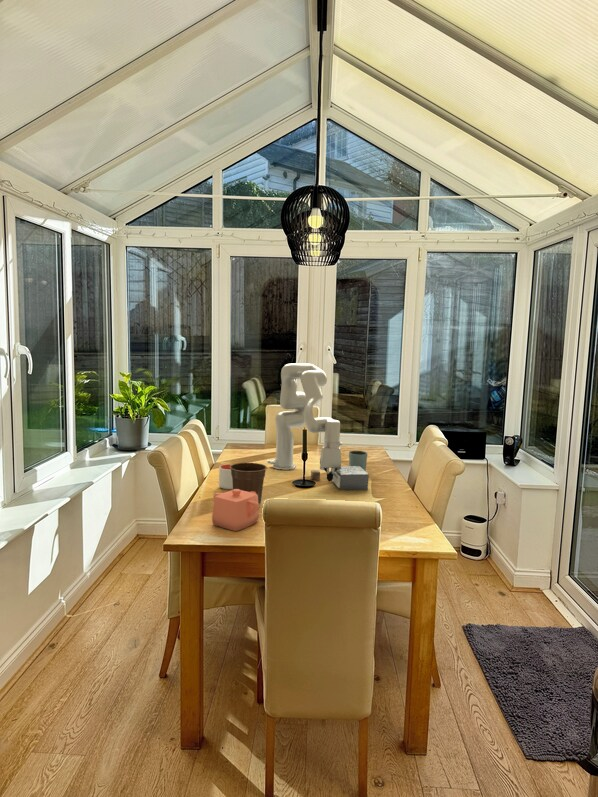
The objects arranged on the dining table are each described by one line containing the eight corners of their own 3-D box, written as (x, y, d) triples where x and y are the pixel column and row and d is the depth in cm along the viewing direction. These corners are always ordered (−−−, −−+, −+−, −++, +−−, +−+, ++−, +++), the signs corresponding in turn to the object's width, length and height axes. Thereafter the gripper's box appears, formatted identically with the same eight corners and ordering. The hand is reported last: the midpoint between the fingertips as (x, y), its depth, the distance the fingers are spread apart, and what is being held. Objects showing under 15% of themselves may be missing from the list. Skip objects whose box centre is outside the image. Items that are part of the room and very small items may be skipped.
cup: (222, 491, 257) (223, 470, 255) (216, 485, 265) (216, 465, 264) (242, 489, 261) (243, 468, 260) (235, 483, 270) (235, 463, 269)
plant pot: (241, 494, 253) (242, 460, 251) (272, 500, 246) (273, 465, 244) (221, 503, 238) (222, 467, 236) (253, 510, 231) (254, 473, 229)
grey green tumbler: (365, 477, 291) (366, 455, 289) (346, 475, 293) (347, 453, 291) (367, 472, 301) (368, 451, 299) (348, 470, 303) (349, 449, 301)
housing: (340, 490, 265) (340, 474, 264) (332, 481, 280) (333, 466, 279) (367, 490, 267) (368, 474, 266) (358, 481, 283) (359, 466, 282)
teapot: (246, 536, 202) (247, 500, 201) (201, 523, 214) (202, 489, 212) (276, 521, 219) (277, 487, 218) (233, 510, 231) (234, 478, 229)
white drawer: (337, 487, 265) (338, 476, 264) (331, 479, 279) (331, 468, 279) (364, 487, 267) (365, 476, 266) (356, 478, 282) (356, 468, 281)
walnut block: (312, 479, 281) (312, 472, 281) (310, 477, 285) (311, 470, 285) (319, 479, 282) (320, 472, 282) (318, 477, 286) (318, 470, 286)
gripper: (344, 443, 274) (342, 478, 276) (315, 443, 272) (313, 478, 274) (348, 446, 267) (346, 483, 269) (318, 446, 264) (316, 483, 267)
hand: (329, 480), depth 272 cm, fingers closed
